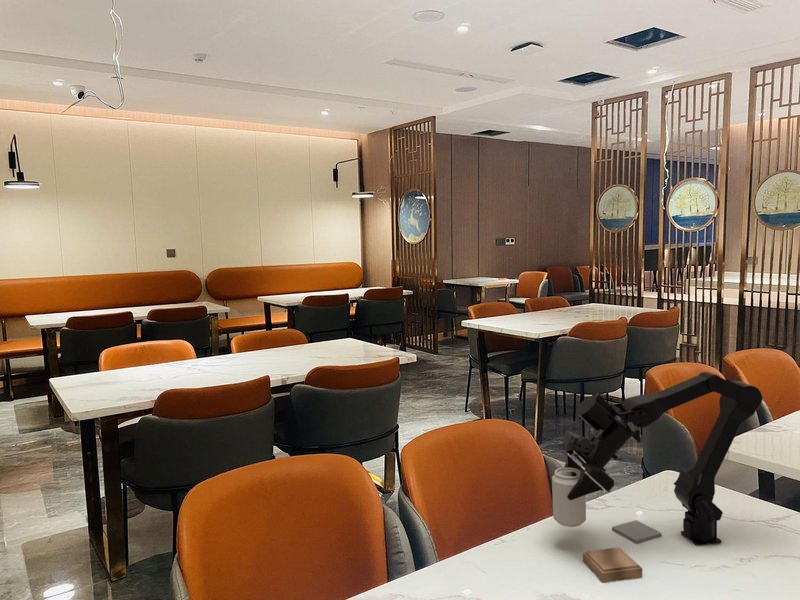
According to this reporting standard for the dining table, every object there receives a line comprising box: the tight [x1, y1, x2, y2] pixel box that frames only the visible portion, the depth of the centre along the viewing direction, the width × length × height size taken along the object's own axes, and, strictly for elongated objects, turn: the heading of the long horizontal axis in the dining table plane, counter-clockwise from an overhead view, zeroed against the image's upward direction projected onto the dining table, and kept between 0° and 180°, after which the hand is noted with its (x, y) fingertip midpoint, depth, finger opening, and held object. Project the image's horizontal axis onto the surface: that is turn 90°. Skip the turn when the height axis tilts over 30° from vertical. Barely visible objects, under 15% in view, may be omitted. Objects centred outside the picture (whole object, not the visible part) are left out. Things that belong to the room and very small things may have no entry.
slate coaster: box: [611, 519, 663, 544], centre depth 150 cm, size 8×8×1 cm
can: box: [551, 467, 587, 528], centre depth 144 cm, size 8×8×12 cm
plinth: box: [582, 546, 643, 583], centre depth 134 cm, size 9×9×2 cm
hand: (563, 492), depth 143 cm, fingers closed on can, 7 cm apart
